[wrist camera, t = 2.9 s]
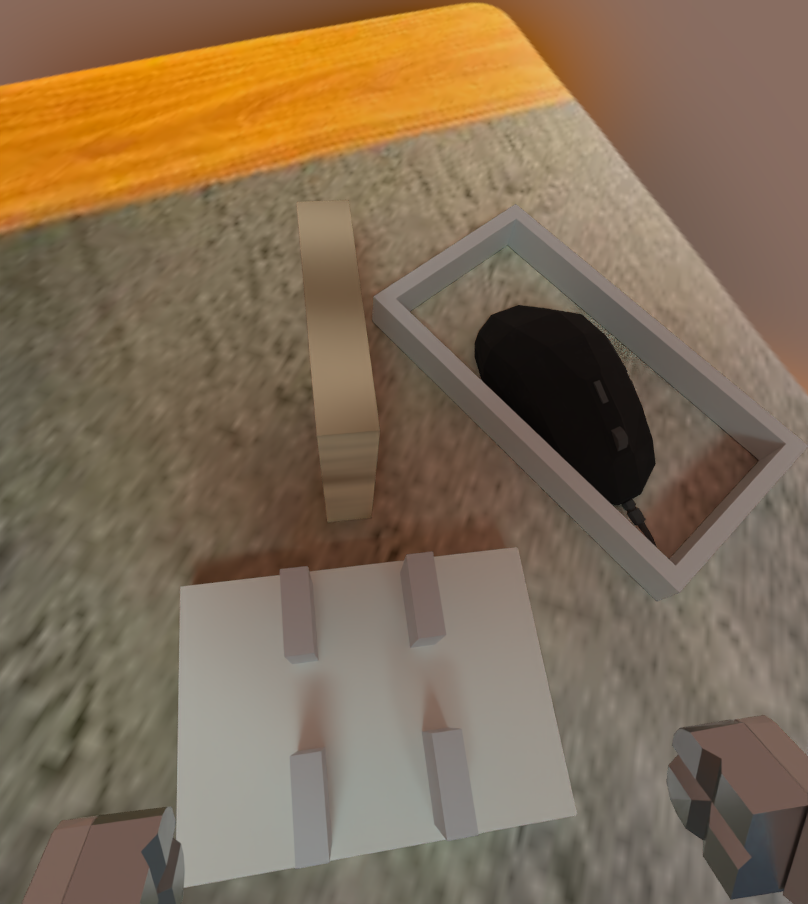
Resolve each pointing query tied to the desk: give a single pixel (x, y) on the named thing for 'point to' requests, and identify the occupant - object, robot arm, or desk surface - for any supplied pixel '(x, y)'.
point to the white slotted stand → (361, 713)
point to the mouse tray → (638, 335)
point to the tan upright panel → (339, 360)
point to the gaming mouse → (571, 397)
